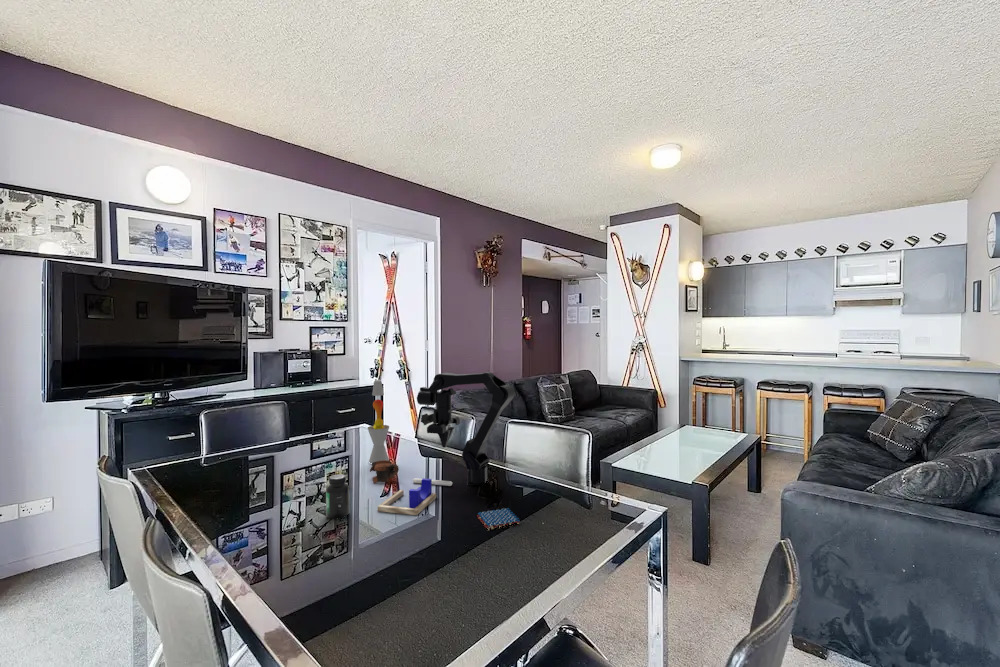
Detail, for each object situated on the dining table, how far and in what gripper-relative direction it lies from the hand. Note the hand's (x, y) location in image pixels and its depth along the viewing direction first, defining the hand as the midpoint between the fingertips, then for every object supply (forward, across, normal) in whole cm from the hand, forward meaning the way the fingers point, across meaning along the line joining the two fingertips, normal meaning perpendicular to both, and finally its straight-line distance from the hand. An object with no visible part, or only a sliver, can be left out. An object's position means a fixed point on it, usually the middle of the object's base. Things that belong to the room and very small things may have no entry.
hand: (444, 447), depth 178 cm
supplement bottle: (+12, +40, -19) cm, 46 cm away
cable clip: (+12, +24, +1) cm, 27 cm away
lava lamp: (+12, -14, -36) cm, 41 cm away
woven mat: (+13, +32, +30) cm, 46 cm away
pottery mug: (+12, +6, -22) cm, 26 cm away
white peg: (+12, +7, -2) cm, 14 cm away
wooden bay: (+12, +26, -2) cm, 29 cm away
